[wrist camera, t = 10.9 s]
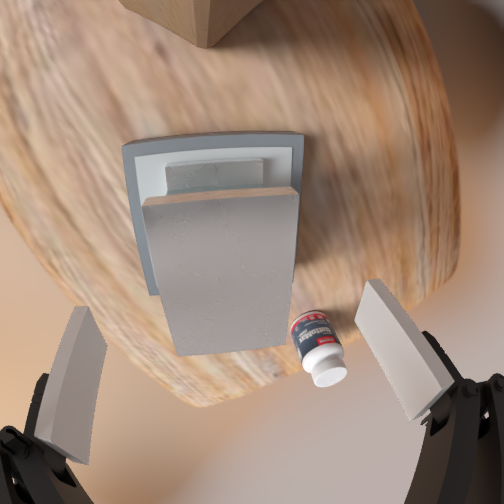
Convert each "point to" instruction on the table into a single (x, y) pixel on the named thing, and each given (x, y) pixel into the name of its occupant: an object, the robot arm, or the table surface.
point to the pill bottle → (319, 348)
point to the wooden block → (194, 17)
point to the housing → (223, 255)
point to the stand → (205, 148)
